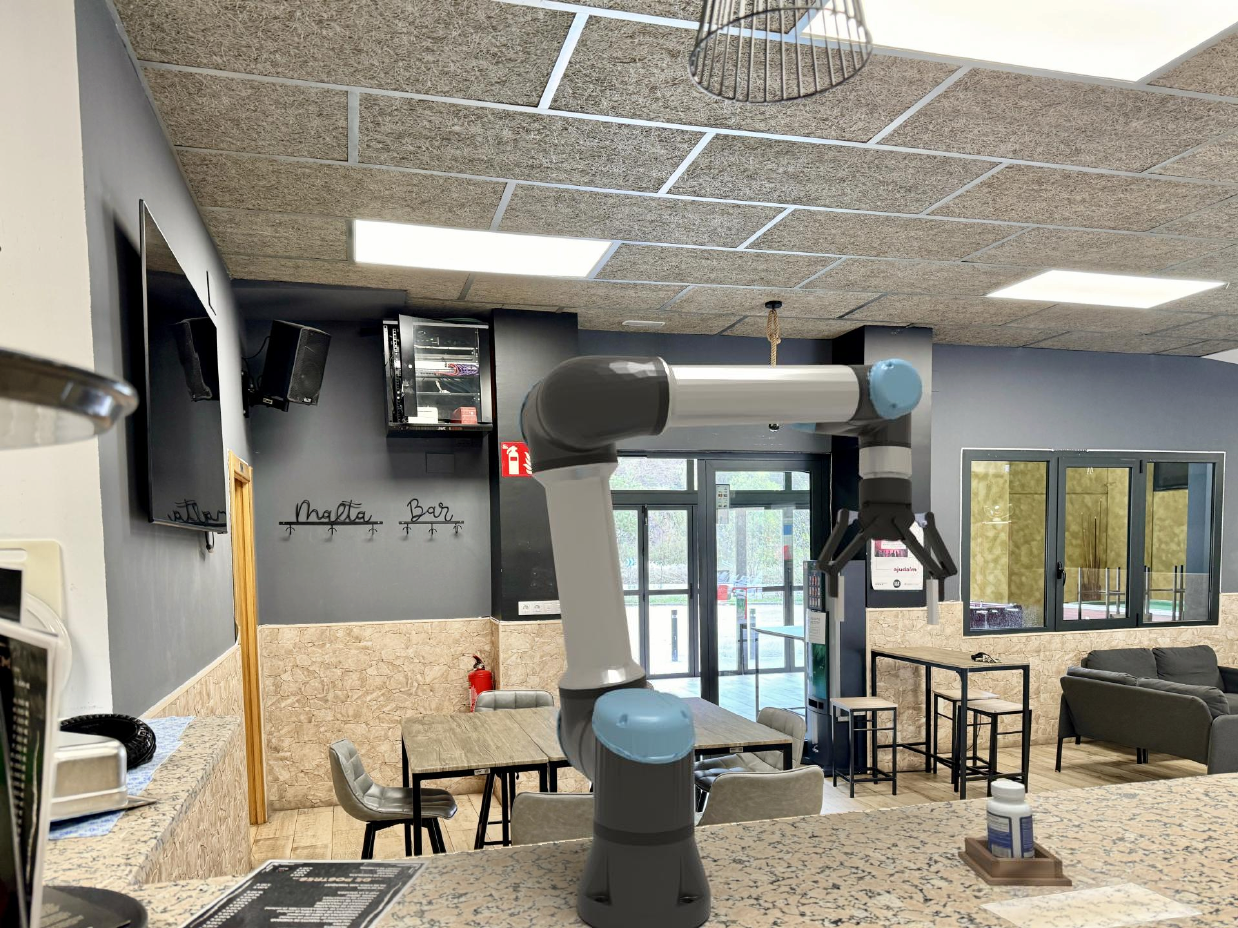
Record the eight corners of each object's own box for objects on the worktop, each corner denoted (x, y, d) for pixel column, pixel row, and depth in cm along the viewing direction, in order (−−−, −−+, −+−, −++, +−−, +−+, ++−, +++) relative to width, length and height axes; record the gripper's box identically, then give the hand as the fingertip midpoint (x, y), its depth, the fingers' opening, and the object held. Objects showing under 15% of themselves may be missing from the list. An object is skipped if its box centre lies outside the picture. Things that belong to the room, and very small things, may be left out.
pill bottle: (1025, 856, 111) (1021, 779, 112) (1041, 871, 105) (1037, 790, 106) (982, 854, 111) (979, 778, 112) (996, 870, 106) (992, 789, 107)
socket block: (988, 884, 103) (987, 862, 104) (958, 855, 113) (957, 835, 114) (1072, 885, 103) (1070, 863, 103) (1033, 856, 113) (1032, 836, 113)
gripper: (959, 484, 130) (961, 624, 128) (796, 478, 131) (795, 618, 128) (979, 478, 123) (982, 627, 120) (806, 472, 123) (805, 620, 120)
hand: (885, 623), depth 124 cm, fingers open, 13 cm apart
